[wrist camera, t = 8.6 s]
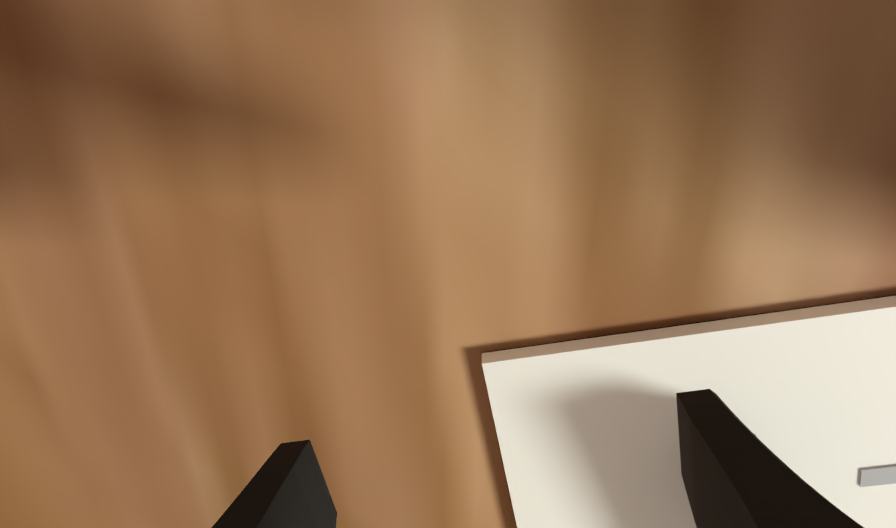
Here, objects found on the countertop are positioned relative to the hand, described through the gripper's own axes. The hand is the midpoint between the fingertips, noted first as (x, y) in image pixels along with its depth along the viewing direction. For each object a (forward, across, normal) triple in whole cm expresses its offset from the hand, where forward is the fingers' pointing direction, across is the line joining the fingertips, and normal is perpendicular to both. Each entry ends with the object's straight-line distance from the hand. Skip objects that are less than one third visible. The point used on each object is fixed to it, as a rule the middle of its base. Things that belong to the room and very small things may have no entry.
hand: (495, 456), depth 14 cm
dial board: (+9, -7, +11) cm, 16 cm away
